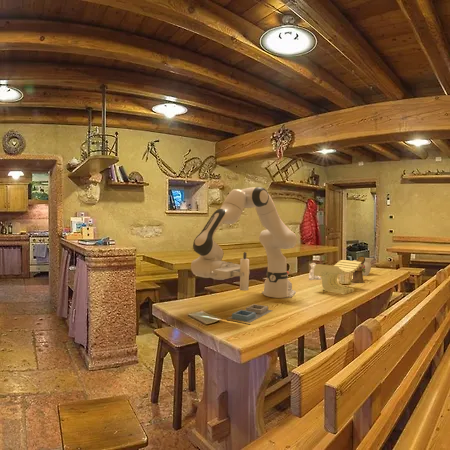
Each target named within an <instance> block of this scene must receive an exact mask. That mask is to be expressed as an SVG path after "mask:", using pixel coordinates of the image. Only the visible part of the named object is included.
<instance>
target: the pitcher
mask: <svg viewBox="0 0 450 450" xmlns="http://www.w3.org/2000/svg"><path fill="white" fill-rule="evenodd" d="M364 258H365V262H364V263H363V264H361V267H362V274H363V277H364V276H368V275H370V273H371V270H372V263H371V262H372V261H373V260H374V259H375V258H371V257H364ZM352 261H357V259H354V260H352Z"/></svg>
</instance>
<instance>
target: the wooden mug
mask: <svg viewBox="0 0 450 450" xmlns="http://www.w3.org/2000/svg"><path fill="white" fill-rule="evenodd" d="M365 258H366V257H364V256H363V255H360V256H358V257H357V258H356V260H357V262H361V264H363V263H364V262H365ZM351 283H354V284H364V283H365V282H364V275H363V274H362V267H361V266H360V267H359V268H357V270H355V272H353V279H352V282H351Z"/></svg>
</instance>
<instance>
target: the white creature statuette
mask: <svg viewBox="0 0 450 450" xmlns="http://www.w3.org/2000/svg"><path fill="white" fill-rule="evenodd" d="M317 264H318V263H315V262H312V263H309V266H310V269H309V273H308V280H309V281H312V280H313V281H314V280H315V281H316V280H319V281H322V278H321V276H314V267H315V266H316V265H317Z"/></svg>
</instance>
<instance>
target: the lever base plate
mask: <svg viewBox="0 0 450 450" xmlns="http://www.w3.org/2000/svg"><path fill="white" fill-rule="evenodd" d="M273 311H274V310H273V309H272V310H271V309H269V306H266V305H261V304H255V303H253V304H251V305H249V306H246V307H245V309H240V310H237V311H235V312H233V313H231V316H228V317H227V318H226V320H225V321H227V322H232V323H239V324H244V325H249V326H250V325H252V324H250V323H252V322H254V321H256V320H257V319H260V318H262V317H263V316H265V315H268V314H269V313H272V312H273Z"/></svg>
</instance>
